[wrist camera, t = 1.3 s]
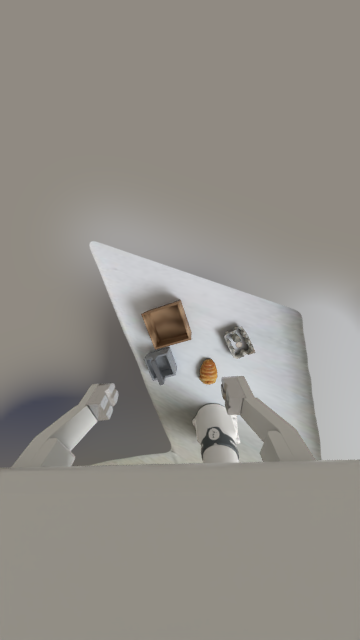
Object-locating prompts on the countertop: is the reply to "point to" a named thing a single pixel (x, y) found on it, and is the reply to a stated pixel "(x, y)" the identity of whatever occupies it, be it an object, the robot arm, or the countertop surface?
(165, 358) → the small crate
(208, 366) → the pastry
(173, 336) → the big crate
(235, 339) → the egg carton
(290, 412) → the countertop surface
